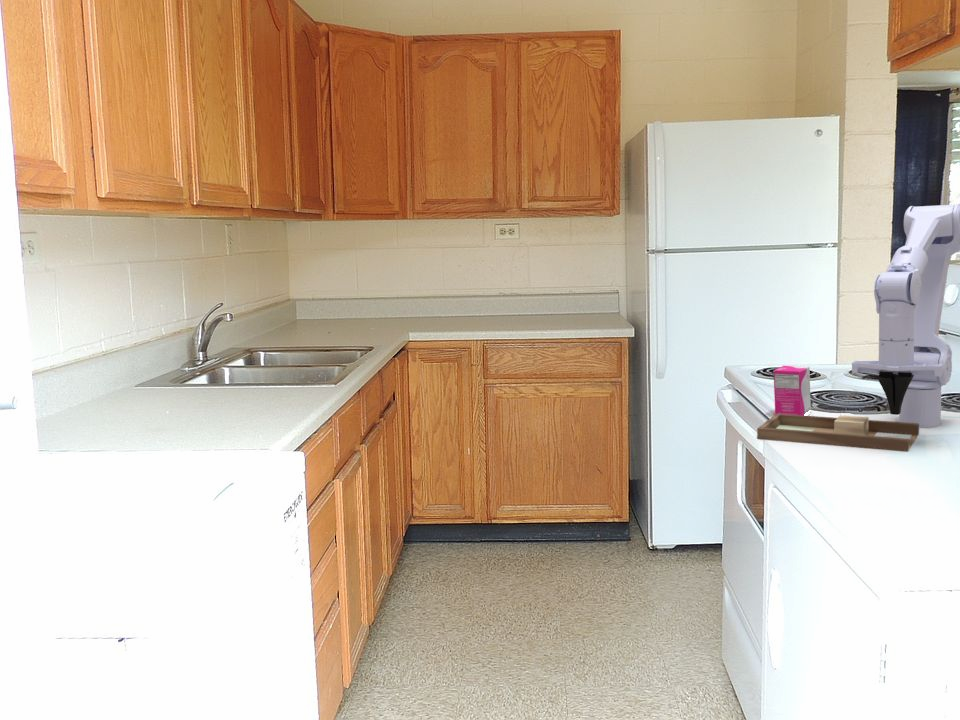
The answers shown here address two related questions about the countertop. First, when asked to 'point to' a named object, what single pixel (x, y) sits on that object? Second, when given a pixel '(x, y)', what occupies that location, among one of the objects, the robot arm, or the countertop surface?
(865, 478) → the countertop surface
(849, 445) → the compartment tray
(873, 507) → the countertop surface
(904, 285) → the robot arm
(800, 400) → the supplement box
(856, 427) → the birch block
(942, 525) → the countertop surface
